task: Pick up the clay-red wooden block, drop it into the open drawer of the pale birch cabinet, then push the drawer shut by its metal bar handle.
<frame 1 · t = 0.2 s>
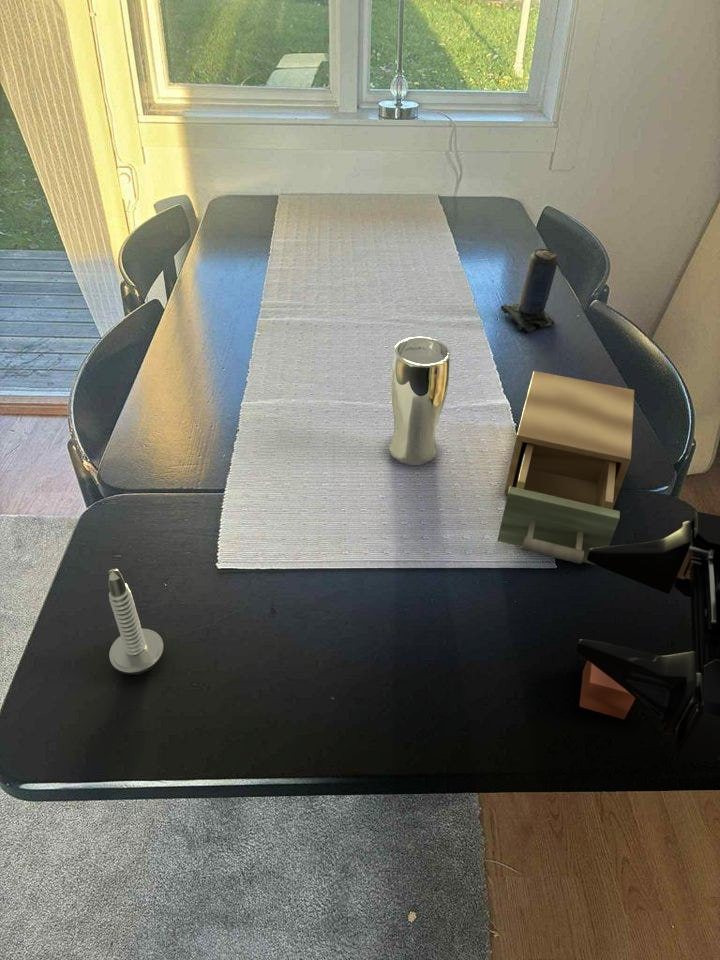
hand: (582, 596, 52), 16 cm above the table, tool horizontal, fingers open, 9 cm apart
block: (602, 694, 65), on the table
drawer: (559, 502, 78), point 5 cm above the table, slide at 8.0 cm
beer glass: (412, 452, 92), on the table
grey post with base: (525, 319, 120), on the table
screw: (140, 664, 66), on the table
cabinet: (561, 469, 90), on the table
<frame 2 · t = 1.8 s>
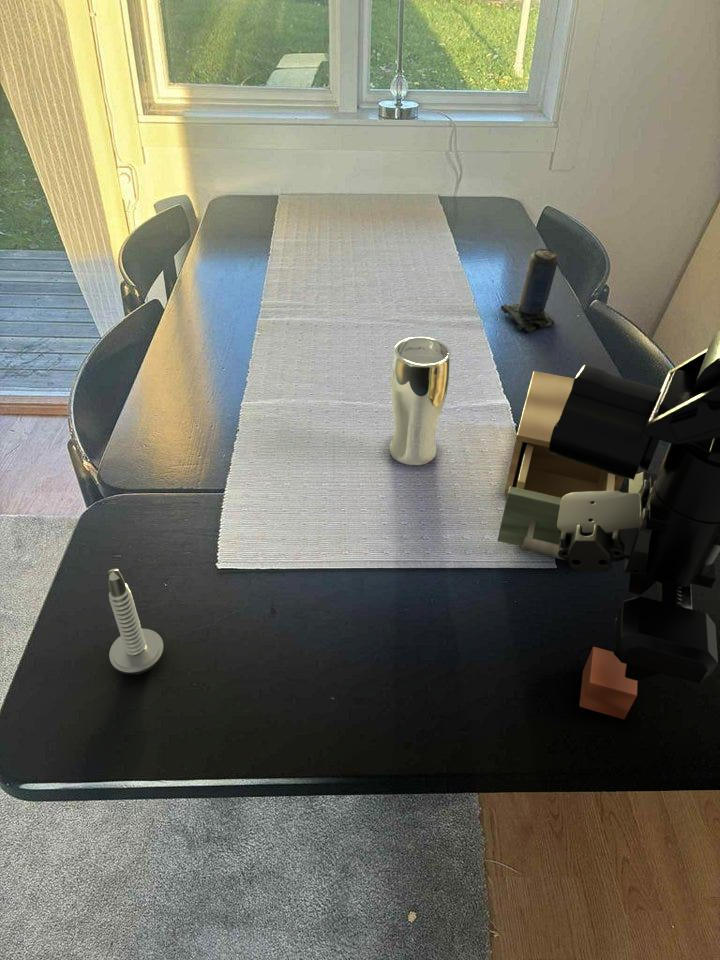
hand: (633, 632, 59), 10 cm above the table, tool pointing down, fingers open, 9 cm apart
nothing on the table moved.
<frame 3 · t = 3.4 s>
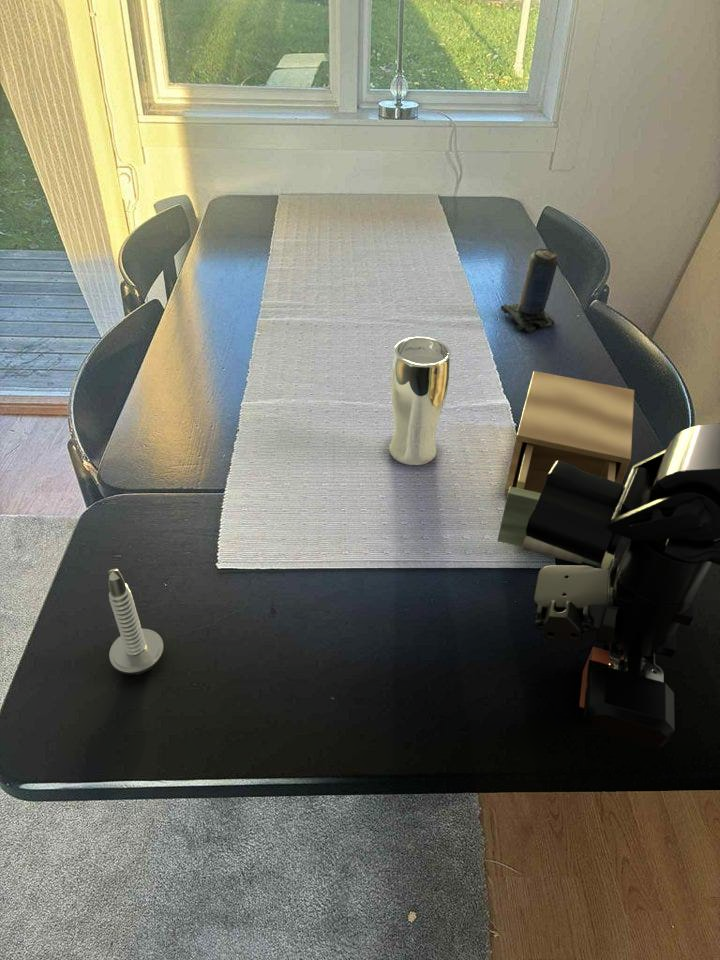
hand: (605, 688, 64), 1 cm above the table, tool pointing down, fingers closed on block, 4 cm apart
block: (602, 695, 65), on the table, touching gripper
everything else where it was.
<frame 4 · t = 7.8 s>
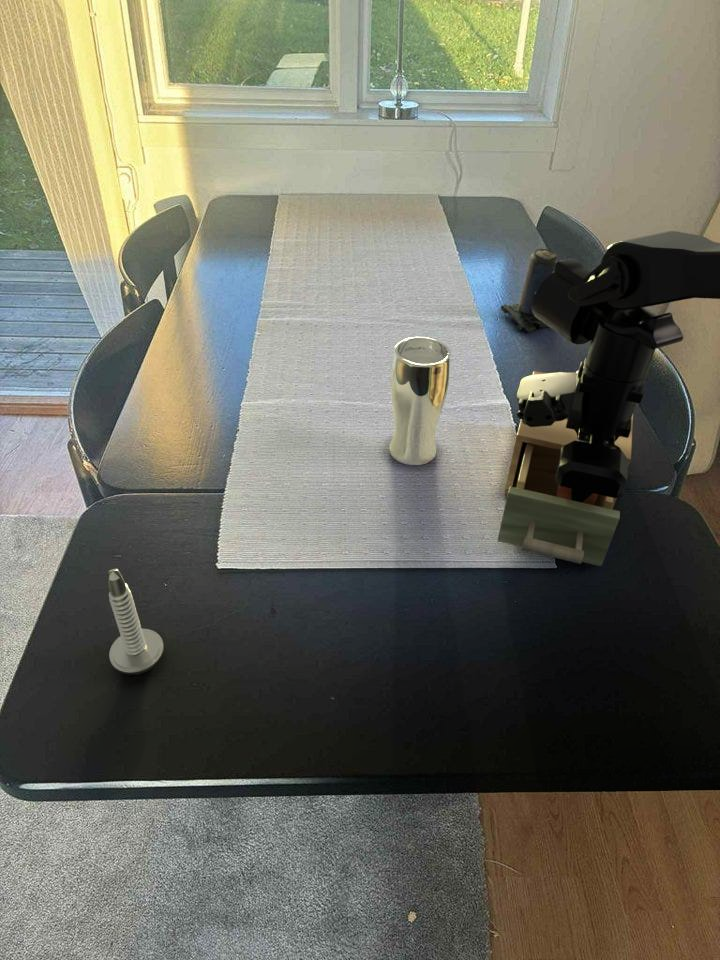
hand: (578, 488, 77), 6 cm above the table, tool pointing down, fingers closed on block, 4 cm apart
block: (575, 495, 78), point 5 cm above the table, touching gripper
everything else where it was.
when the fingers open (9 cm above the table, at t = 20.4 s): block drops 6 cm, resting on drawer.
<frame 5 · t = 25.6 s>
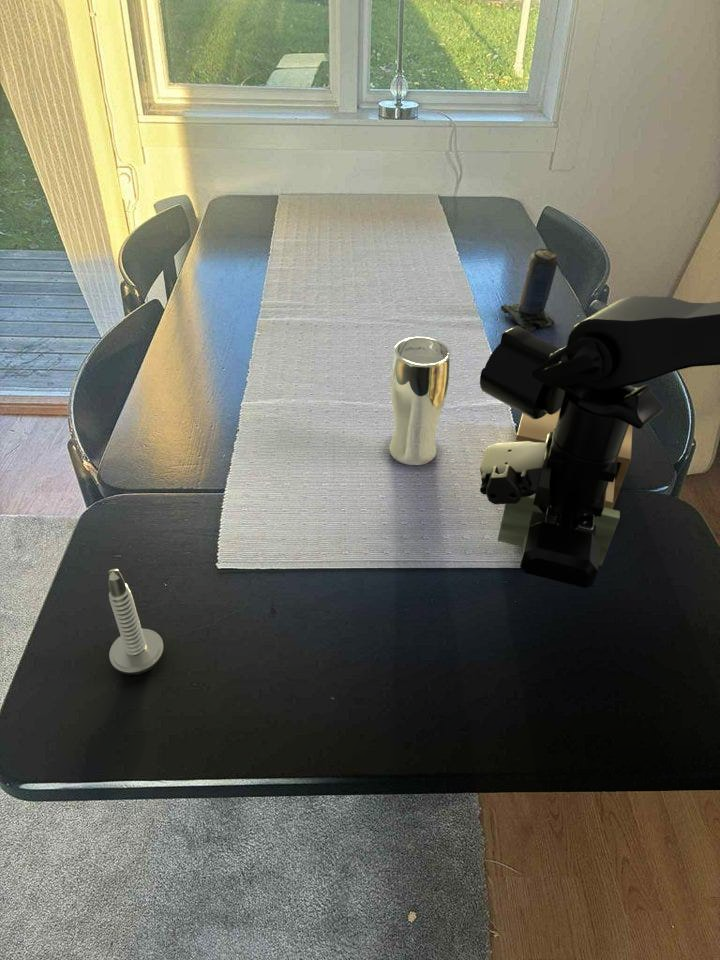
hand: (549, 561, 71), 5 cm above the table, tool pointing down, fingers closed
block: (568, 516, 80), point 2 cm above the table, touching drawer
drawer: (559, 502, 78), point 5 cm above the table, slide at 8.0 cm, touching block, gripper
everything else where it was.
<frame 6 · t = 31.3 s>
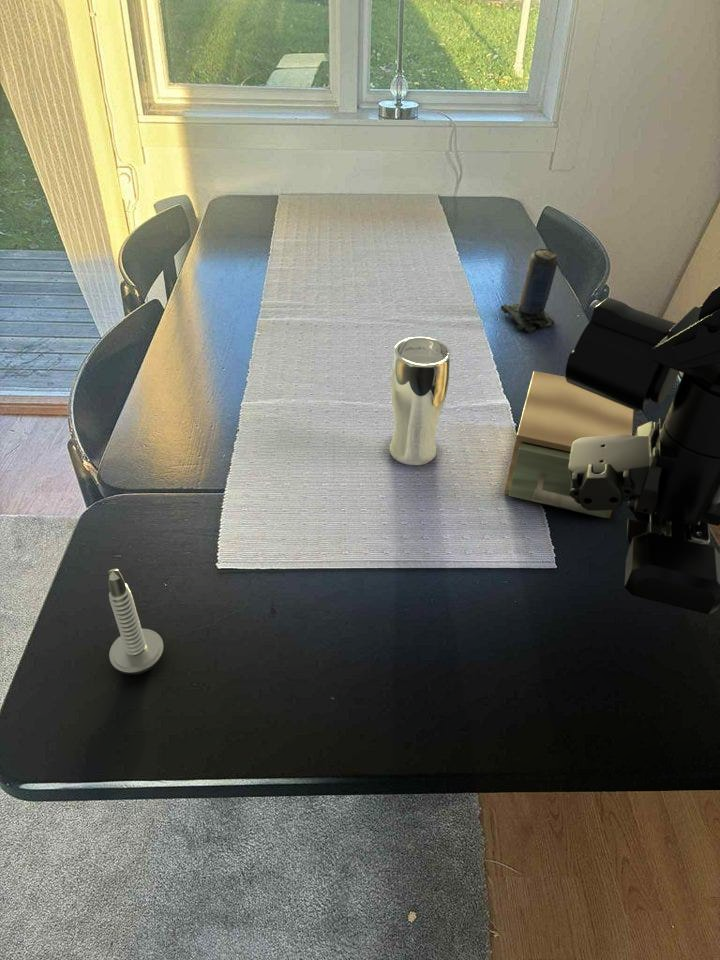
hand: (641, 578, 60), 12 cm above the table, tool pointing down, fingers closed
block: (574, 474, 86), point 2 cm above the table, touching drawer
drawer: (566, 459, 84), point 5 cm above the table, slide at 0.0 cm, touching block, cabinet
everything else where it was.
at the end: block inside the target area in the cabinet (3.3 cm from its centre), point 2.0 cm above the cabinet's base; drawer slide at 0.0 cm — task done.
